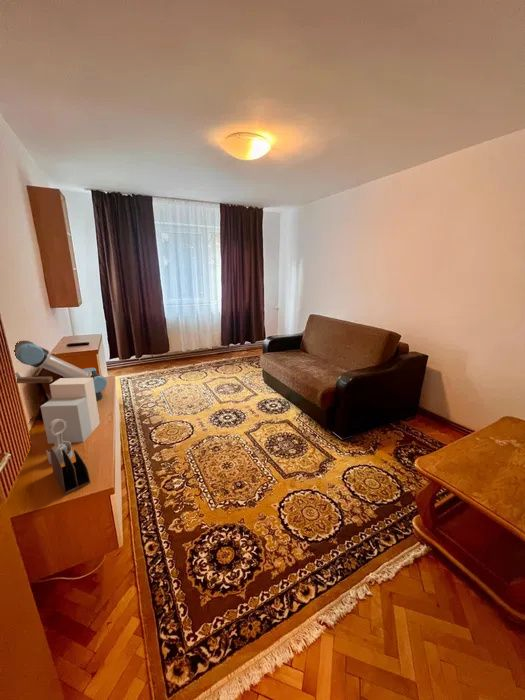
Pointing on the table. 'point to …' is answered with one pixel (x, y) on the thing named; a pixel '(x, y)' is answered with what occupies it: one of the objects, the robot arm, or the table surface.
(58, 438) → the engine component
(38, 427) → the table surface
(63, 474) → the letter holder
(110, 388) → the table surface
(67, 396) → the stepped parts shelf
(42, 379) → the walnut axle bar
